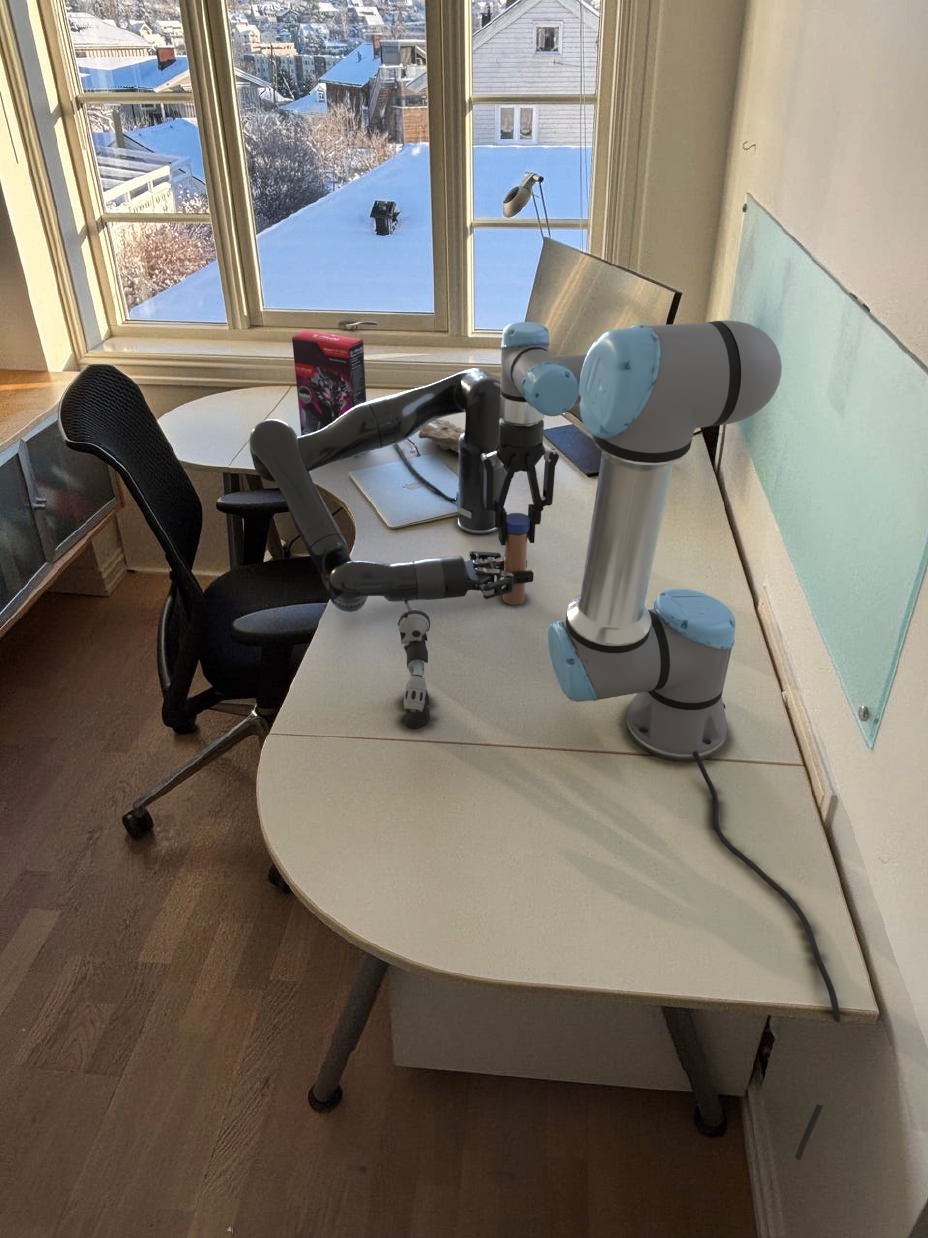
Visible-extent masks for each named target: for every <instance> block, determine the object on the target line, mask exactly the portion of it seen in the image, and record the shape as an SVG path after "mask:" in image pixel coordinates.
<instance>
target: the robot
mask: <svg viewBox="0 0 928 1238" xmlns="http://www.w3.org/2000/svg"><path fill="white" fill-rule="evenodd" d="M403 602H404V604H405V607H406V610H407V611H406V612H404V613H403V614H402V615H400V616H399V617H398V621H397V623H396V624H397V625H396V626H397V627H398V629H397V630H398V631H399V635H400V644H401V645H403V649H404V652H405V654H406V669H408V671H409V674H410V677H409V678H408V679H407V680H408V681H407V682H406V685H405V689H404V696H403V697H402V700H401V705H402V706H403V708H404V713H403V716H402V718H401V723H402V725H404V726H405V727H406V728H410V729H419V728H421V727H424V726H426V725H428V724H429V722H430V719H431V717H430V716H431V715H430V709H429V706H430V695H429V692H428V689H427V683H426V678H425V677H424V674H425V664H427V663H429V650H428V648H427V641H429V640H428V639H429V638H428V634H427V633H428V632H430V629H431V620H430V617H429V615H428V614H427V613H426V612H424V611H422V610H419V609H413V608H412V606H411V604H410V601H407V599H405V600H404V601H403Z"/></svg>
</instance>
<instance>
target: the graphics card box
mask: <svg viewBox="0 0 928 1238" xmlns="http://www.w3.org/2000/svg"><path fill="white" fill-rule="evenodd" d="M291 343H292V352H293V361H294V372H295V373H294V374H295V383H296V392H297V405H298V415H299V424H300V436H304V435H308V434H311V433H314V432H317V431H319V430H321V429H323V428H325V427H326V426H328V425H329V424H331V423H332V422H333V421H335V420H336V419H337V418H338V417H340V416H341V415H343V414H344V413H345V412H347V411H348V410H350V409H351V408H353V407H355V406H357V405H359V404H362V403H365V402H367V389H366V370H365V349H364V348H365V347H364V340H363V338H355V337H350V336H344V335H338V334H334V333H327V332H322V331H318V330H317V331H316V330H311V329H304V330H301V331H299V332H297V333H295V335H293V336H292V337H291Z"/></svg>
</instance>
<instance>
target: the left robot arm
mask: <svg viewBox="0 0 928 1238" xmlns="http://www.w3.org/2000/svg"><path fill="white" fill-rule="evenodd" d="M500 387H501V379H499V378H498V377H496V376H495V374H493V373H492V372H491V371H489V370H487V369H484V368H480V367H474V368H468V369H465V370H463V371H460V372H458V373H456V374H453V375H451V376H449V377H446V378H444V379H441V380H439V381H436V382H433V383H431V384H428V385H424V386H421V387H417V388H412V389H410V390H409V389H408V390H405V391H402V392H398V393H395V394H390V395H387V396H382V397H379V398H375V399H372V400H368V401H366V402H365V403H362V404H359V405H357V406H355V407H353V408H351V409H350V410H348V411H347V412H345V413H344V414H343V415H341V416H340V417H338V418H337V419H336V420H335V421H333V422H332V423H331V424H329V425H328V426H326V427H325V428H323V429H321V430H319V431H317V432H314V433H311V434H308V435H304V436H301V435H300V436H298V435H297V434H296V432H295V430H294V428H293V427H291V425H290V424H288V423H287V422H285V421H283V420H280V419H275V418H274V419H273V418H271V419H265V420H262V421H260V422H259V423H257V424H256V425H255V426H254V428H252V430H251V432H250V435H249V441H248V442H249V443H248V446H249V447H248V448H249V452H250V456H251V460H252V463H253V467H254V470H255V472H256V474H257V475H258V476H259V477H260V478H261V479H263V480H265V481H267V482H273V483H276V485H277V487H278V489H279V491H280V492H281V495H282V497H283V498H284V502H285V504H286V507H287V510H288V511H289V515H290V516H291V519H292V521H293V524H294V526H295V529H296V531H297V534H298V535H299V537H300V540H301V542H302V544H303V545H304V547H305V549H306V551H307V553H308V554H309V556H310V558H311V560H312V561H313V563H314V565H315V567H316V569H317V572H318V575H319V577H320V579H321V582H322V584H323V587H324V590H325V592H326V594H327V596H328V598H329V600H330V602H331V603H332V604H333V606H335V607H336V608H337V609H338V610H340V611H342V612H345V613H355V612H357V611H359V610H361V609H362V608H363V607H364V606H365V604H366V602H367V601H368V597H384V600H386V601H388V602H392V603H399V602H404V600H405V599H407V601H408V602H410V601H420V600H421V601H432V600H441V599H443V600H444V599H452V598H453V599H454V598H462V597H465V596H466V595H467V594H468V592H469V591H475V592H476V591H477V592H478V591H479V592H480V593H482V598H483V600H489V599H494V598H496V597H499V596H503V594H506V593H510V592H512V587H513V585H514V584H520V583H525V584H529V583H532V582H533V581H534V575H535V574H534V571H533V570H532V569H529V570H528V569H527V567H528V560H527V559H526V571H516V572H513V573H512V572H504V556H502V553H500V552H493V551H477V550H471V551H469V555H468V556H469V558H468V559H467V560H465V559H464V557H463V556H462V555H455V556H454V555H453V556H443V557H433V558H432V557H431V558H424V559H419V560H414V561H404V562H403V561H402V562H395V563H394V562H393V563H384V562H377V561H367V560H352V558H351V556H350V551H349V546H348V543H347V540H346V539H345V537H344V535H343V533H342V531H341V529H340V527H339V525H338V524H337V522H336V521H335V519H334V517H333V515H332V513H331V511H330V510H329V508H328V506H327V504H326V502H325V501H324V499H323V497H322V495H321V493H320V492H319V490H318V488H317V486H316V484H315V482H314V480H313V478H312V476H311V474H310V472H311V471H314V470H316V469H319V468H322V467H324V466H326V465H329V464H332V463H334V462H338V461H343V460H345V459H349V458H352V457H355V456H358V455H361V454H365V453H368V452H371V451H377V450H380V449H383V448H386V447H387V448H388V447H390V446H393V445H394V447H395V449H396V450H397V451H398V453H399V455H400V457H401V458H402V460H403V462H404V463H405V464H406V466H407V467H408V469H409V470H410V471H411V472H412V473H413V474H414V475H415V476H416V477H417V478H418V479H419V480H420V481H421V482H422V483H424V484H425V485H426V486H428V487H429V488H430V489H432V490H433V491H434V492H436V493H437V494H438V495H439V496H440V497H442V498H443V499H445V500H447V501H449V502H454V503H456V507H457V512H458V513H457V526H458V527H459V529H461V530H462V531H464V532H467V533H468V534H474V535H486V534H490V533H494V532H496V531H499V528H496V527H495V525H494V522H493V517H494V511H493V510H487V509H486V507H485V504H484V502H483V500H484V464H483V462H482V459H481V455H482V454H483V453H486V454H490V453H492V452H495V450H496V447H497V446H498V443H499V420H500V419H501V417H500V390H501V388H500ZM463 413H465V417H464V418H465V419H464V421H465V422H464V430H465V432H464V433H463V434H462V435H461V436H460V438H459V453H458V491H456V497H455V498H456V500H455V498H454V497H450V496H449V495H446V494H445V493H444V492H442V491H441V490H440V489H438V487H437V486H435V485H434V484H433V483H431V482H429V481H428V480H427V479H425V477H423V476H422V475H421V474H420V473H419V472H417V470H416V468H414V467H413V466H412V464H411V463H410V461H409V460H408V459H407V458H406V456H405V454H404V452H403V450H402V449H401V447H400V446H399V445H398V444H399V443H402V442H404V441H406V440H408V439H409V438H412V437H413V436H415V434H417V433H419V432H420V430H421V429H422V428H423V427H424V426H426V425H427V424H429V423H430V422H432V421H434V420H436V419H439V420H440V419H442V418H445V417H449V416H453V415H457V414H463ZM502 468H503V463H502V462H501V461H500V460H499V458H498V459H496V464H495V466H494V467H493V471H494V482H493V501H494V499H495V496H496V492H497V489H498V485H499V482H500V478H501V475H502ZM495 577H496V578H495ZM504 578H505V579H504ZM495 579H496V580H495ZM503 587H506V588H503Z"/></svg>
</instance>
